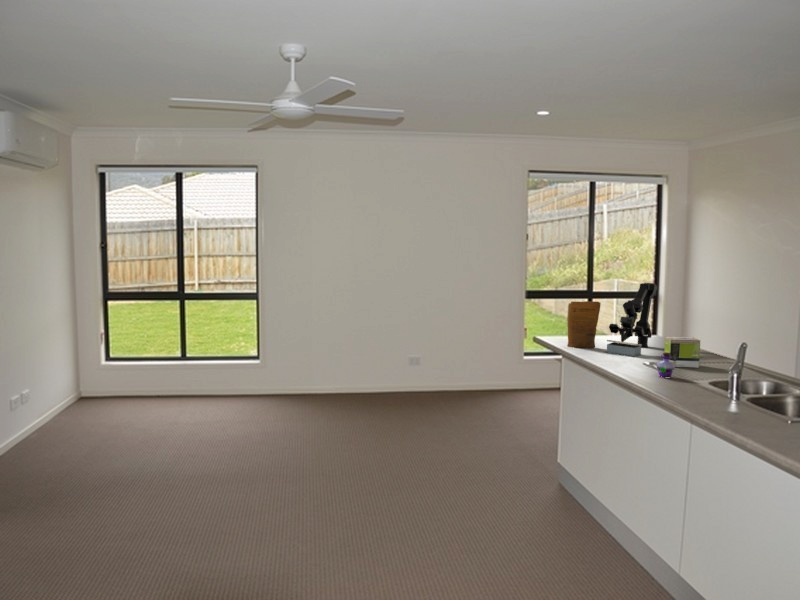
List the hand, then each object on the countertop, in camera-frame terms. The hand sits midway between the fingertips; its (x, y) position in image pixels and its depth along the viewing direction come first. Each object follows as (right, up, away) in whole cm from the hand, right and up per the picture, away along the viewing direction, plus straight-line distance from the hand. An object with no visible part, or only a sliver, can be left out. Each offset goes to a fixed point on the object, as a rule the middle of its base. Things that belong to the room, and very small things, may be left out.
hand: (621, 341), depth 358 cm
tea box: (+22, -11, -25) cm, 35 cm away
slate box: (+2, -7, +4) cm, 9 cm away
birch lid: (+2, -1, +3) cm, 4 cm away
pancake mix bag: (-17, -5, +21) cm, 27 cm away
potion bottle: (+2, -14, -53) cm, 55 cm away
